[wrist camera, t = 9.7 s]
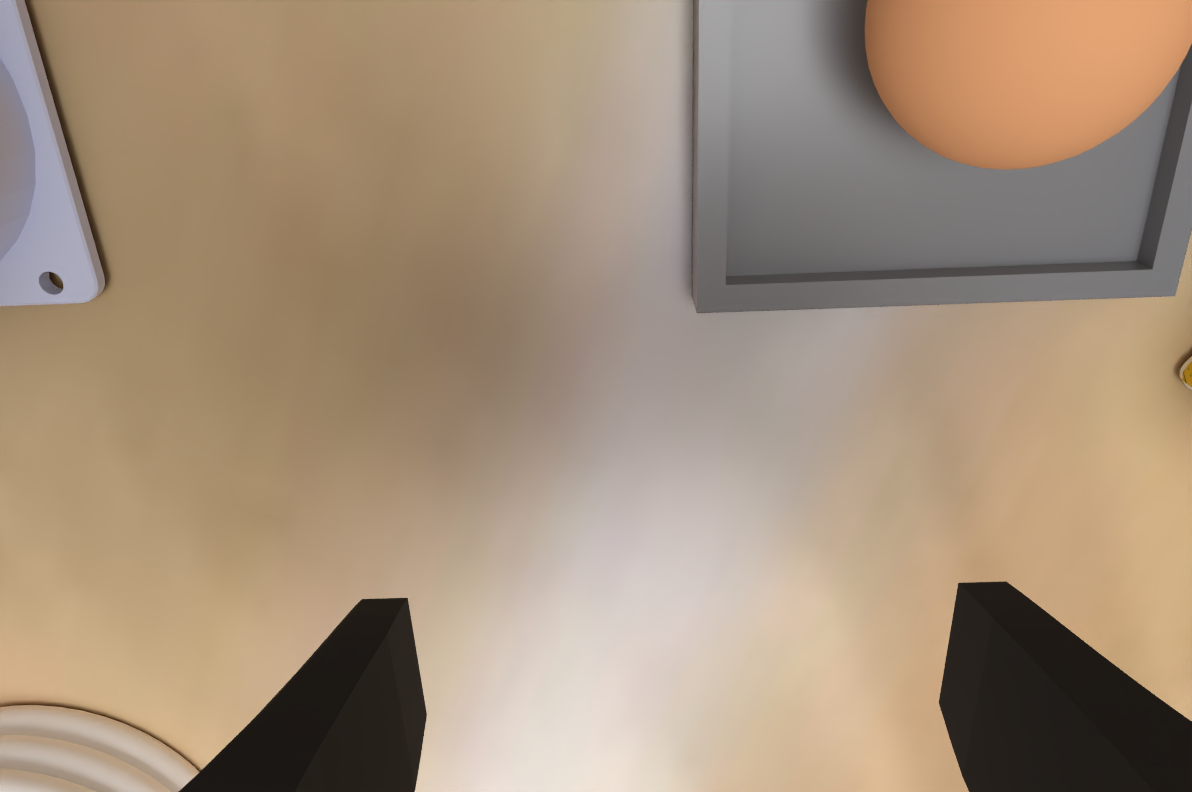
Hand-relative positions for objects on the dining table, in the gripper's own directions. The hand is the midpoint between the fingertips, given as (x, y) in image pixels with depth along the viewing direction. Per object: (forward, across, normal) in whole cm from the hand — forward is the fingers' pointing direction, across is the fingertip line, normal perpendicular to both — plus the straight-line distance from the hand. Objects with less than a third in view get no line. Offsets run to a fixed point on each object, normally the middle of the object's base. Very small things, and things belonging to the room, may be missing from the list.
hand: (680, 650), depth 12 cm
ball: (+9, -6, -7) cm, 13 cm away
